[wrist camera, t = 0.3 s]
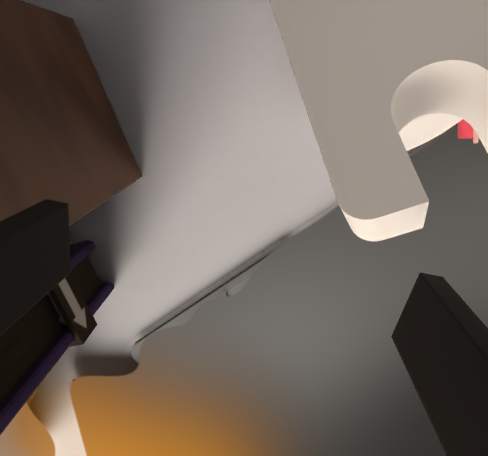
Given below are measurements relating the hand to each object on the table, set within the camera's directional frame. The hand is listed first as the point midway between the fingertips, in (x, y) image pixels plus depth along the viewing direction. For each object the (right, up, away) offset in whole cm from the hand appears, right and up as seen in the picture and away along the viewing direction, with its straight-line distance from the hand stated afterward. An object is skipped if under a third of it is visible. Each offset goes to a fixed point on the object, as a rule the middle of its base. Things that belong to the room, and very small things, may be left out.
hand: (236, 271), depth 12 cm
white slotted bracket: (+7, +11, +3) cm, 13 cm away
